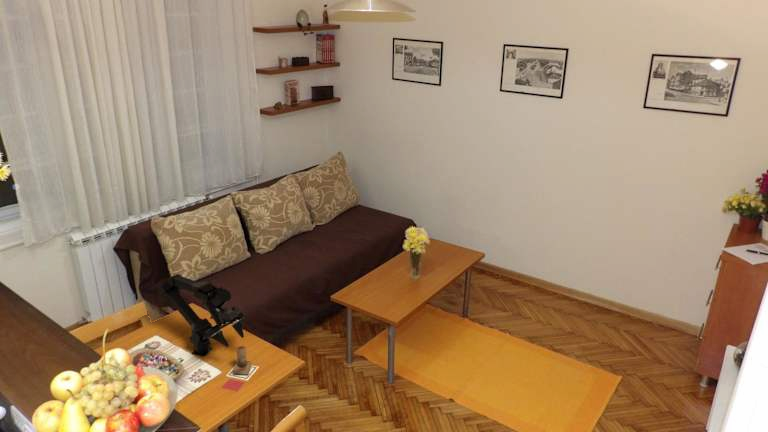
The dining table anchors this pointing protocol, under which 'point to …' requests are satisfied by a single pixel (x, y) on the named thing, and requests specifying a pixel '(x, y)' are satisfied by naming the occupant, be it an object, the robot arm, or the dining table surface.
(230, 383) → the ink pad
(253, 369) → the marked board
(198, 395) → the dining table surface
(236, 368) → the stamp
